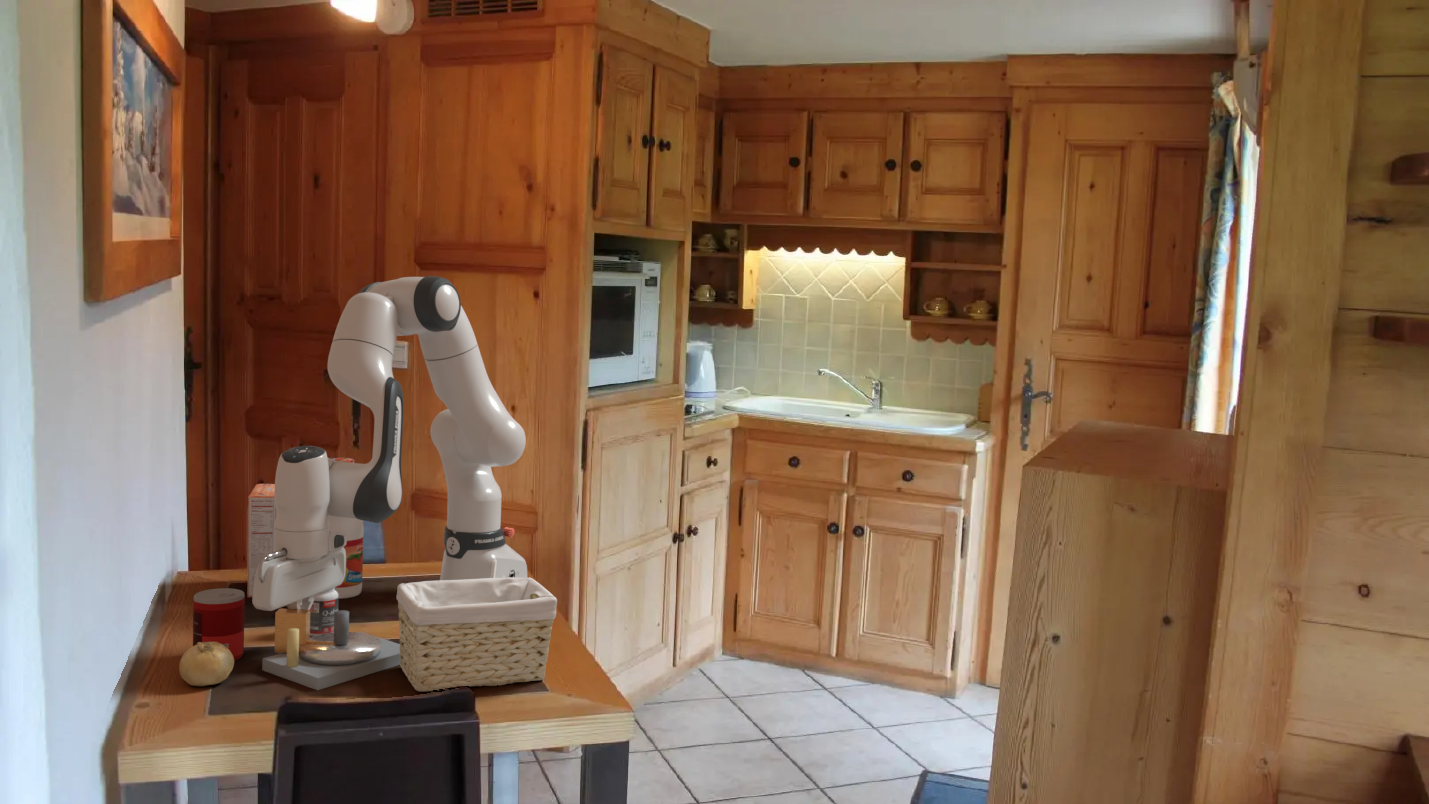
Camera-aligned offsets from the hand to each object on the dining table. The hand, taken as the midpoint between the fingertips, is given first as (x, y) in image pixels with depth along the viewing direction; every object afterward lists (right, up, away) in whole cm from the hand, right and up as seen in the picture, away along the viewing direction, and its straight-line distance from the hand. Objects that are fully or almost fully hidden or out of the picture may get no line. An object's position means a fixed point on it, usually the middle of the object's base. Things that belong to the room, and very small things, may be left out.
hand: (299, 622), depth 192 cm
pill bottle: (-1, -5, +14) cm, 15 cm away
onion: (-10, -7, -13) cm, 18 cm away
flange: (+6, -4, -3) cm, 8 cm away
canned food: (-13, -6, -2) cm, 14 cm away
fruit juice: (-7, -2, +40) cm, 41 cm away
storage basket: (+30, -9, -3) cm, 31 cm away
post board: (+8, -7, -2) cm, 10 cm away
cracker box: (-22, -1, +41) cm, 46 cm away
